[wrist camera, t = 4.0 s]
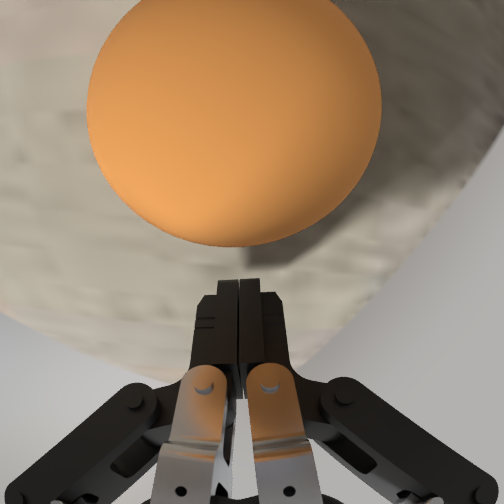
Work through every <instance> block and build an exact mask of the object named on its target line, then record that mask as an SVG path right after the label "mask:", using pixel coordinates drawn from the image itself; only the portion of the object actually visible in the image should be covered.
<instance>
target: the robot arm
mask: <svg viewBox="0 0 504 504" xmlns="http://www.w3.org/2000/svg"><path fill="white" fill-rule="evenodd" d="M243 390H244V396H245V399H248V407H249V415H250V425H251V432H252V442H253V453H254V462H255V471H256V478H257V487H258V495H257V496H254V497H249V498H245V499H241V500H235V499H231V494H232V458H233V446H234V435H235V423H236V399H243ZM307 438H310V439H313V440H314V441H315V442H316V443H317V444H318V445H320V446H321V447H322V448H323V449H324V450H325V451H327V452H328V453H329V454H330V455H331V456H333V457H334V458H335V459H336V460H337V461H339V462H340V463H341V464H342V465H343V466H345V467H346V468H347V469H348V470H350V471H351V472H352V473H353V474H355V475H356V476H357V477H358V478H360V479H361V480H362V481H363V482H365V483H366V484H367V485H369V486H370V487H371V488H373V489H374V490H375V491H376V492H378V493H379V494H380V495H382V496H383V497H385V498H386V499H387V500H389V501H390V502H391V503H393V504H495V503H496V501H497V498H498V485H497V482H496V480H495V479H494V478H493V477H492V476H491V475H489V474H488V473H486V472H485V471H483V470H482V469H480V468H479V467H477V466H476V465H474V464H473V463H471V462H470V461H468V460H467V459H465V458H464V457H462V456H461V455H459V454H458V453H456V452H455V451H454V450H452V449H451V448H449V447H448V446H446V445H445V444H444V443H442V442H441V441H439V440H438V439H436V438H435V437H433V436H432V435H431V434H429V433H428V432H426V431H425V430H424V429H422V428H421V427H420V426H418V425H417V424H415V423H414V422H413V421H411V420H410V419H409V418H407V417H406V416H404V415H403V414H402V413H400V412H399V411H398V410H396V409H395V408H393V407H392V406H391V405H389V404H388V403H387V402H385V401H384V400H383V399H381V398H380V397H379V396H377V395H376V394H374V393H373V392H372V391H370V390H369V389H368V388H366V387H365V386H364V385H363V384H361V383H360V382H359V381H357V380H355V379H353V378H349V377H339V378H335V379H332V380H331V381H329V382H328V383H322V382H317V381H311V380H308V379H305V378H303V377H301V376H300V375H298V374H297V373H296V372H295V371H294V370H293V368H292V366H291V364H290V360H289V352H288V344H287V336H286V328H285V320H284V312H283V304H282V301H281V299H280V298H279V297H278V295H277V294H276V292H260V278H254V279H240V289H239V281H238V279H237V280H218V285H217V295H204V297H203V298H202V300H201V301H200V303H199V304H198V306H197V313H196V321H195V330H194V336H193V344H192V352H191V361H190V367H189V370H188V372H186V373H185V375H184V376H183V378H182V379H181V380H179V381H178V382H176V383H174V384H172V385H169V386H165V387H161V388H157V389H153V390H152V388H151V387H149V386H148V385H146V384H143V383H131V384H128V385H126V386H124V387H123V388H122V389H120V390H119V391H118V392H117V393H116V394H115V395H114V396H112V397H111V398H110V399H109V400H108V401H107V402H105V403H104V404H103V405H102V406H101V407H100V408H99V409H97V410H96V411H95V412H94V413H93V414H92V415H90V416H89V417H88V418H87V419H86V420H85V421H84V422H82V423H81V424H80V425H79V426H78V427H76V428H75V429H74V430H73V431H72V432H71V433H69V435H67V436H66V437H65V438H64V439H62V440H61V441H60V442H59V443H58V444H57V445H56V446H54V447H53V448H52V449H51V450H49V451H48V452H47V453H46V454H45V455H44V456H42V457H41V458H40V459H39V460H38V461H36V462H35V463H34V464H33V465H32V466H31V467H29V468H28V469H27V470H26V471H25V472H23V473H22V474H21V475H20V476H19V477H17V478H16V479H15V480H14V481H12V482H11V483H10V484H9V485H8V486H7V488H6V491H5V504H111V503H112V502H113V501H114V500H116V499H117V498H118V497H119V496H120V495H121V494H123V493H124V492H125V491H126V490H127V489H128V488H129V487H130V486H132V485H133V484H134V483H135V482H136V481H137V480H138V479H139V478H140V477H141V476H143V475H144V474H145V473H146V472H147V471H148V470H149V469H150V468H151V467H152V466H153V465H154V464H155V463H157V467H156V473H155V478H154V484H153V489H152V495H151V498H150V499H149V500H147V501H145V502H143V503H142V504H343V503H342V502H340V501H339V500H337V499H335V498H332V497H330V496H327V495H324V494H321V491H320V486H319V481H318V476H317V471H316V466H315V461H314V456H313V452H312V448H311V444H310V442H309V440H308V439H307Z"/></svg>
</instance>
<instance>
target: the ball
mask: <svg viewBox="0 0 504 504" xmlns="http://www.w3.org/2000/svg"><path fill="white" fill-rule="evenodd" d="M381 115H382V97H381V88H380V82H379V76H378V73H377V69H376V66H375V63H374V60H373V57H372V55H371V53H370V51H369V49H368V47H367V45H366V43H365V41H364V39H363V38H362V36H361V35H360V33H359V32H358V30H357V29H356V27H355V26H354V25H353V23H352V22H351V21H350V20H349V18H348V17H347V16H346V15H345V14H344V13H343V12H342V11H341V10H340V9H339V8H338V7H337V6H336V5H335V4H333V3H332V2H331V1H330V0H141V1H140V2H139V3H138V4H137V5H135V6H134V7H133V8H132V9H131V10H130V11H129V12H128V13H127V14H126V15H125V16H124V17H123V18H122V19H121V20H120V22H119V23H118V24H117V25H116V27H115V28H114V29H113V30H112V32H111V33H110V35H109V36H108V38H107V40H106V41H105V43H104V45H103V46H102V48H101V50H100V53H99V55H98V57H97V60H96V62H95V65H94V67H93V71H92V75H91V79H90V83H89V89H88V98H87V126H88V132H89V137H90V142H91V145H92V149H93V152H94V155H95V158H96V160H97V162H98V164H99V167H100V169H101V171H102V173H103V175H104V176H105V178H106V179H107V181H108V182H109V184H110V186H111V187H112V188H113V190H114V191H115V192H116V193H117V194H118V196H119V197H120V198H121V199H122V200H123V201H124V202H125V203H126V204H127V205H128V206H129V207H130V208H131V209H132V210H133V211H134V212H135V213H136V214H138V215H139V216H140V217H142V218H143V219H144V220H146V221H147V222H148V223H150V224H152V225H153V226H155V227H157V228H159V229H160V230H162V231H164V232H166V233H169V234H171V235H173V236H175V237H178V238H181V239H184V240H187V241H190V242H193V243H198V244H203V245H208V246H218V247H247V246H255V245H261V244H265V243H270V242H274V241H277V240H280V239H283V238H286V237H289V236H291V235H293V234H296V233H298V232H300V231H302V230H304V229H306V228H308V227H310V226H311V225H313V224H314V223H316V222H318V221H319V220H321V219H322V218H324V217H325V216H326V215H327V214H329V213H330V212H331V211H332V210H334V209H335V208H336V207H337V206H338V205H339V204H340V203H341V202H342V201H343V200H344V199H345V198H346V197H347V196H348V195H349V193H350V192H351V191H352V190H353V188H354V187H355V186H356V184H357V183H358V182H359V180H360V178H361V177H362V175H363V173H364V171H365V170H366V168H367V166H368V164H369V161H370V159H371V156H372V154H373V152H374V149H375V146H376V142H377V138H378V134H379V130H380V123H381Z"/></svg>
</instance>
